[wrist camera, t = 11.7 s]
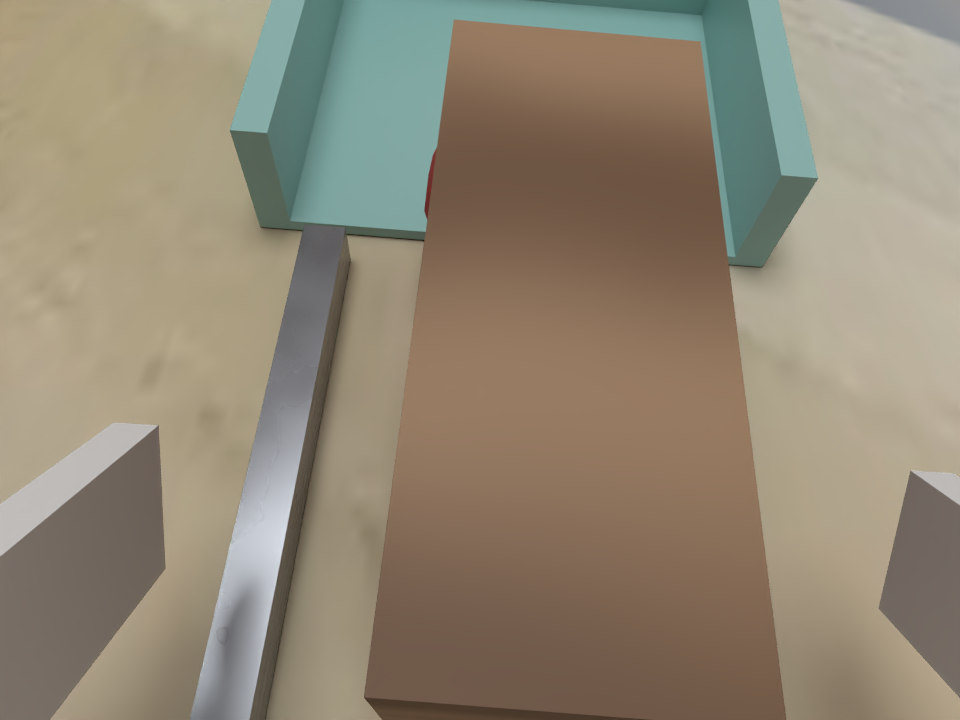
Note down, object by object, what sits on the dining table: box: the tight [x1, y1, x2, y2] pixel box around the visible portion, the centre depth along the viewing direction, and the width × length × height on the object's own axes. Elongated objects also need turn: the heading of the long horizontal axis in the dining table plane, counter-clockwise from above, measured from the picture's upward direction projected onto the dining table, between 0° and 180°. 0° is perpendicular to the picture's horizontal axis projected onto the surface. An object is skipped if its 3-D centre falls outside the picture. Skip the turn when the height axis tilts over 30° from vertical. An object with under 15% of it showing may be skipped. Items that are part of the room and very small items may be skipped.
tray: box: [230, 0, 818, 267], centre depth 25 cm, size 13×16×4 cm
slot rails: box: [190, 224, 351, 720], centre depth 18 cm, size 18×12×2 cm
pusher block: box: [364, 20, 786, 720], centre depth 14 cm, size 10×4×11 cm, turn 176°
